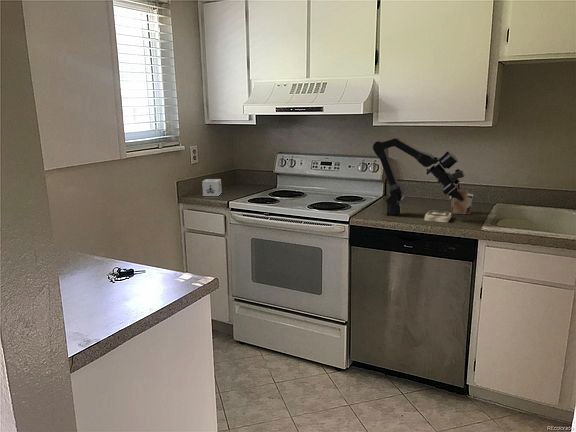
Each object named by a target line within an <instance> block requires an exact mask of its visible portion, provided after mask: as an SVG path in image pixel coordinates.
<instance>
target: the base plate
mask: <svg viewBox="0 0 576 432" xmlns="http://www.w3.org/2000/svg"><path fill="white" fill-rule="evenodd" d="M451 219H452V213H451V212H449V211H448V210H447V211H446V210H435V209H433V210H432V209H431V210H428V211H427V212H426V213H425V215H424V221H426V222H427V221H428V222H437V223H438V222H439V223H449V222H450V220H451Z"/></svg>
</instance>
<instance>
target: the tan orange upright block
mask: <svg viewBox="0 0 576 432" xmlns="http://www.w3.org/2000/svg"><path fill="white" fill-rule="evenodd" d="M458 191H459V193H460V194H461V196H462V197H463V199H464V200H463V201H461V200H458V199H456V198H454V206H453V213H457V214H456V215H458V214H459V215H466V214H465V213H466V210H467V198H468V194H469V189H464V188H460V189H458Z"/></svg>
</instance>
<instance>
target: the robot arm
mask: <svg viewBox="0 0 576 432" xmlns="http://www.w3.org/2000/svg"><path fill="white" fill-rule="evenodd" d="M393 147H395V148H397V149H399V151H403V152H404V153H406V154H407V155H409V156H411V157H412V158H414V159H415V160H416V161H417V162H418V163H419V164H420V165H421V166H423V167H425V168H426V173H425V174H426V176H427V175H430V174H431V175H432V176H433V177H434V178H435V179H436V180H437V182H438V183H439V184H440V185H442V187H443V189H442V193H443V194H444V196H449V197H450V196H452V197H454V198H456V199H458V200H461V201H463V200H464V199H463V197H462V196H461V194H460V193H459V191H458V189H461V180H460V179H462V178H464V177H465V173H464V171H463V170H462V169H459V168H456V169H455V171H454V172H452V173H451V172H447V171H446V170H445V169H451V168H452V167H453V166H454V165H455V164H457V163H458V162H459V160H458V158H457V157H456V156H455V155H454V154H452V153H451V152H450V151H448V150H447V151H446V152H445V153H444V155H442V156H441V157H436V156H434V155H433V154H432V153H428V152H427V151H422V150H419V149H418V148H415V147H414V146H412V145H410V144H409V143H407V142H405V141H403V140H401V138H399V137H394V138H392V139H388V140H378V141H375V142H373V145H372V150H373V152H374V154H375V155H376V156H377V158H378V159H379V160H380V163H381V166H382V168H383V170H384V174H385V176H386V179H387V181H388V185H389V197H388V198H387V199H386V200H385V201H386V204H387V205H386V214H385V215H386V216H392V217H399V216H400V215H401V214H402V200H403V199H404V198H405V196H406V191H407V190H406V189H405V186H404V184H400V183H399V180H398V179H397V176H396V172H395V170H394V168H393V165H392V162H391V160H390V156H389V148H393ZM428 167H430V168H428Z"/></svg>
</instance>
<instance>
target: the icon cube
mask: <svg viewBox="0 0 576 432" xmlns="http://www.w3.org/2000/svg"><path fill="white" fill-rule="evenodd" d="M201 182H202V183H201V185H202V197H203V196H219V195H220V194H221V193H222V194H223V192H222V190H223V189H222V179H221V178H209V179H207V178H206V179H205V178H204V180H202V181H201ZM222 194H221V195H222ZM221 195H220V196H221ZM220 196H219V197H220Z"/></svg>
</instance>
